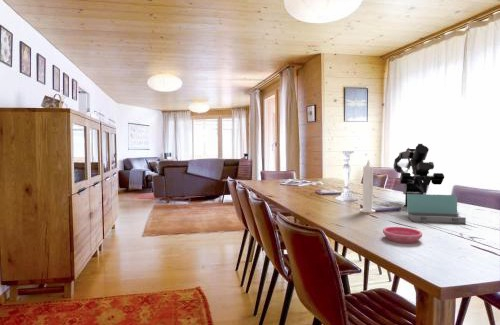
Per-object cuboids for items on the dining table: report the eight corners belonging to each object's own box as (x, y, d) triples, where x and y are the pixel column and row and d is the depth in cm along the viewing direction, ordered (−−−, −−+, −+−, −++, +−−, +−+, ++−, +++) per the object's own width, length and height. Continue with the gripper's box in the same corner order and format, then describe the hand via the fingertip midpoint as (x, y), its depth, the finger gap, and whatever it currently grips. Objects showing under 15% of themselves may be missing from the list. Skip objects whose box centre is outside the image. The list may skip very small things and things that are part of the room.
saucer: (389, 232, 124) (389, 224, 124) (425, 238, 117) (426, 230, 116) (377, 240, 115) (377, 231, 115) (417, 247, 107) (417, 237, 107)
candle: (376, 213, 158) (377, 160, 156) (360, 212, 159) (361, 160, 158) (373, 210, 165) (374, 159, 163) (358, 209, 166) (359, 159, 165)
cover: (407, 212, 148) (407, 212, 149) (457, 213, 145) (456, 213, 145) (407, 194, 149) (407, 194, 150) (456, 195, 146) (455, 195, 146)
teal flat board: (407, 217, 148) (407, 212, 148) (457, 219, 145) (457, 213, 145) (413, 222, 140) (413, 216, 140) (466, 224, 136) (466, 218, 136)
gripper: (401, 156, 162) (407, 181, 152) (443, 156, 159) (452, 181, 148) (397, 171, 170) (402, 195, 160) (436, 171, 167) (444, 196, 156)
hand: (425, 192), depth 156 cm, fingers closed
